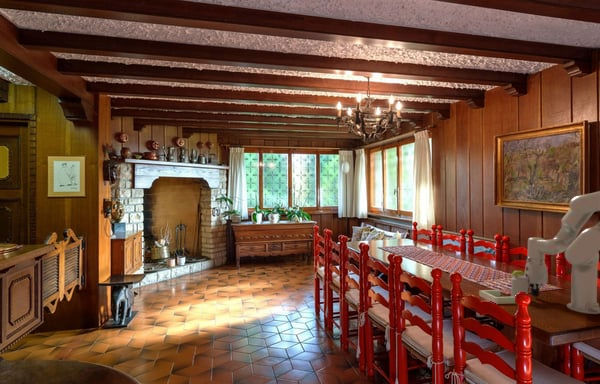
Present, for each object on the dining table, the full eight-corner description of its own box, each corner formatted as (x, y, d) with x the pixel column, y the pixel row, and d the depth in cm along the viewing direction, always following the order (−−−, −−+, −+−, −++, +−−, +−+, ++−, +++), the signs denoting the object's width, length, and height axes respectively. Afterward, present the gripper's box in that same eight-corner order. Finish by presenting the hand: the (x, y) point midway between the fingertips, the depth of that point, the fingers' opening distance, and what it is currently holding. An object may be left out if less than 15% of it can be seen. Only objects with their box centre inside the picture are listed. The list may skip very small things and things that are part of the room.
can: (512, 295, 190) (512, 273, 190) (528, 298, 186) (529, 275, 186) (509, 299, 185) (510, 276, 184) (526, 302, 180) (527, 278, 180)
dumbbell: (530, 289, 203) (530, 277, 202) (514, 287, 206) (514, 275, 206) (525, 282, 217) (525, 270, 217) (510, 281, 221) (510, 269, 221)
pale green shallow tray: (515, 303, 178) (515, 297, 178) (494, 303, 177) (494, 297, 177) (498, 295, 191) (498, 289, 191) (479, 295, 190) (479, 290, 190)
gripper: (527, 263, 181) (526, 298, 182) (554, 262, 183) (554, 298, 183) (517, 259, 189) (516, 294, 189) (543, 259, 190) (542, 293, 191)
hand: (535, 295), depth 186 cm, fingers closed
